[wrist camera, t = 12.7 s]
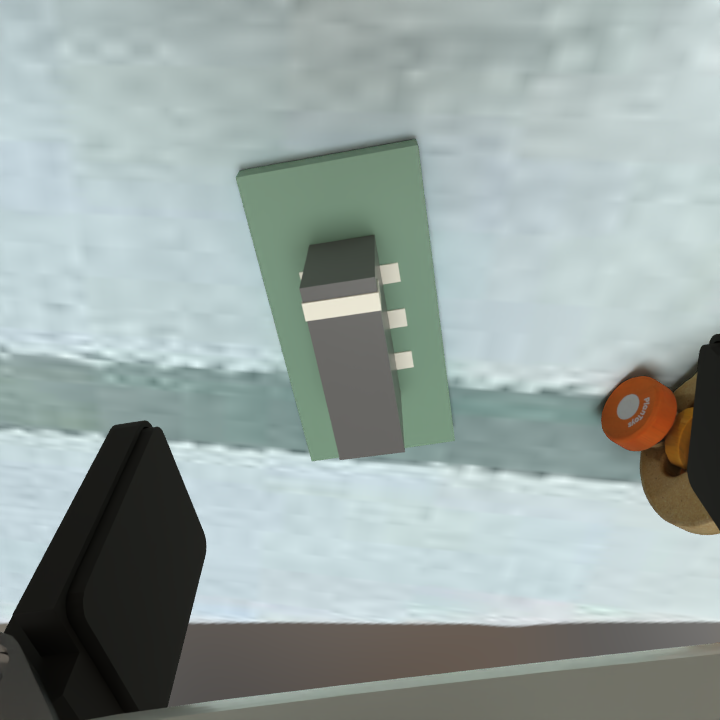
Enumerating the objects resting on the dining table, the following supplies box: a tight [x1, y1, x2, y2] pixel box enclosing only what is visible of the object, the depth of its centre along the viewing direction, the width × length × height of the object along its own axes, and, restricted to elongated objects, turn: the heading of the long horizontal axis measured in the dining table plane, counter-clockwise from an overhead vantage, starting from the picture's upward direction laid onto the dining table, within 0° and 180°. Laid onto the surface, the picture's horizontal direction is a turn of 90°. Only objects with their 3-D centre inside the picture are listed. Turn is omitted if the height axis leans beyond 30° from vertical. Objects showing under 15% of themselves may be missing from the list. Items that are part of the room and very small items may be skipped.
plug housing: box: [299, 235, 405, 460], centre depth 38 cm, size 11×4×6 cm, turn 10°
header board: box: [236, 139, 455, 461], centre depth 39 cm, size 20×10×6 cm, turn 10°
